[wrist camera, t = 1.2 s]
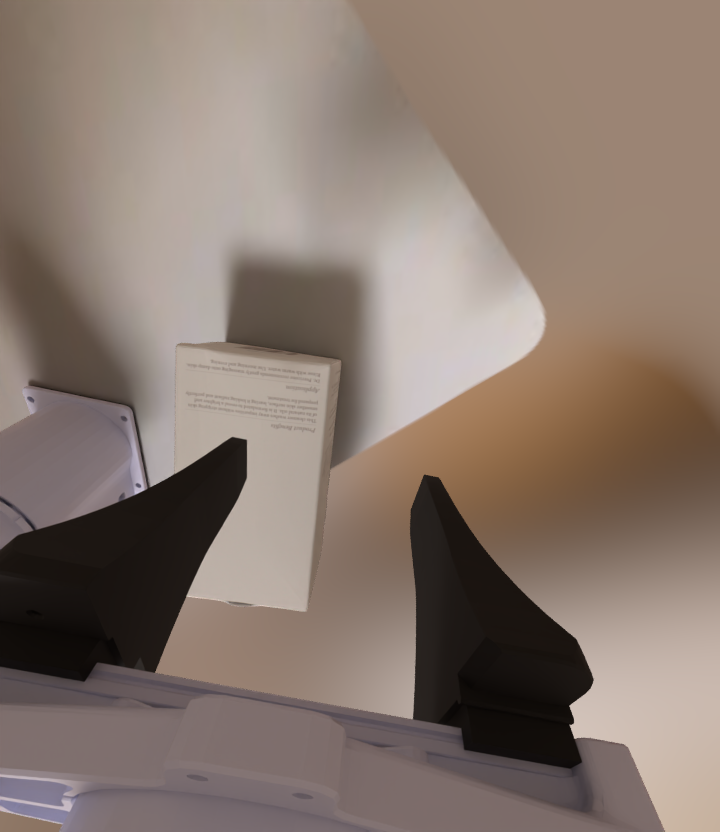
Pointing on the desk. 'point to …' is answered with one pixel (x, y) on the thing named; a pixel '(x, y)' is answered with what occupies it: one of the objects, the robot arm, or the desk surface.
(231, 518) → the skincare box
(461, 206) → the desk surface
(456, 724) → the robot arm
